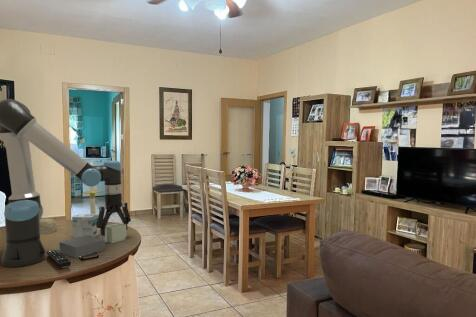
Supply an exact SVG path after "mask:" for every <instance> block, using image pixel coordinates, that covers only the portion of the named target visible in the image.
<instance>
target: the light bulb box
mask: <svg viewBox="0 0 476 317" xmlns="http://www.w3.org/2000/svg"><path fill="white" fill-rule="evenodd" d="M98 216H99V213H96V214H91V213H78V214H76V215H74V216H73V215H72V216H71V219H72V220H71V222H72V239H74V238H78V237H82V236H86V235H89V236H93V237H98V236H99V235H100V231H99V228H97V227H96V226H97V221H98Z"/></svg>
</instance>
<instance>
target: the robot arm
mask: <svg viewBox="0 0 476 317" xmlns="http://www.w3.org/2000/svg"><path fill="white" fill-rule="evenodd" d="M0 136H2V137H3V138H4V141H5V142H4V144H5V150H6V158H7V167H8V172H9V174H8V175H9V181H10V187H11V188H10V189H11V195H10V196H9V197H8V204H6V205H5V207H4V212H3V216H4V223H5V227H4V228H5V247H4V250H3V253H2V257H1V265H2V266H3V267H7V268H17V267H18V268H19V267H24V266H29V265H30V266H31V265H35V264H37V263H40V262H42V261H43V260H45V259H46V258H47V256H46V255H47V252H46V249H45V247H44V245H43V242H42V240H41V234H40V219H42V218H43V213H44V208H43V206H42V202H41V196H40V195H41V194H40V193H39V192H37V191H36V186H35V180H34V178H35V177H34V170H33V164H32V163H33V162H32V154H31V146H30V143H31V144H32V145H33V146H35V147H36V148H38V149H39V150H40V151H41V152H42V153H44V154H46V155H47V156H48V157H49V158H51V159H52V160H53V161H55V162H56V163H58V164H59V165H60V166H61V167H62V168H64V169H65V170H66V171H68V172H69V173H71V174H72V175H73V176H75V177H76V182H77V183H79V184H80V183H82V184H83V185H85V186H87V187H90V186H94V187H95V186H97V185H99V184H100V182H101V183H102V182H104V194H105V195H104V200H105V202H104V203H105V204H104V205H103V206H98V209H99V212H98V221H97V226H96V227H97V228H100V229H101V231H100V235H101V237H102V238H101V239H104V240H105V244H106V243H108V242H107V229H106V228H105V227H106V226H107V225H108V222H109V220H110V218H111V216H112V214H115V213H117V215H118V217H119V218H120V220H121V221H122V223H121V225H125V238H127V231H128V225H129V223H130V222H131V221H132V218H131V216H130V213H129V208H128V203H127V202H122V201H123V197H122V196H123V195H122V167H121V162H120V161H119V160H105V161H103V165H94V166H91V165H90V163H89V162H87V161H86V160H85V159H84V158H82V157H81V155H79V154H77V153H76V152H75V151H74V150H72V149H71V148H70V147H68V146H67V145H66V143H63V141H61V140H60V139H58V138H57V137H56V136H55V135H54V134H52V133H51V132H50V131H49V130H47V129H46V128H44V126H42V124H39V123H38V122H37V118H36V117H35V116H34V115H32V113H31V111H30V109H29V107H27V106H26V105H25V104H24V103H22V102H20V101H19V100H16V99H13V98H9V99H8V98H7V99H3V100H0Z"/></svg>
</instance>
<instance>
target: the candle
mask: <svg viewBox="0 0 476 317" xmlns="http://www.w3.org/2000/svg"><path fill="white" fill-rule="evenodd" d="M89 164H90V165H91V166H95V165H94V163H93V161H92V160H90V163H89ZM101 192H102V191H101V190H95V186H89V190H87V191H84V192H83V194H85V195H89V206H90V207H89V208H90V214H97V213H96V212H97V211H96V194H100V193H101ZM99 232H101V229H100V228H99Z"/></svg>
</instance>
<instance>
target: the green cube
mask: <svg viewBox="0 0 476 317" xmlns="http://www.w3.org/2000/svg"><path fill="white" fill-rule="evenodd" d="M105 228H106V229H107V243H111V244H114V243H118V242H121V241H125V240H126V237H125V225H122V223H117V222H116V223H112V224H107V225H106V227H105Z"/></svg>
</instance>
